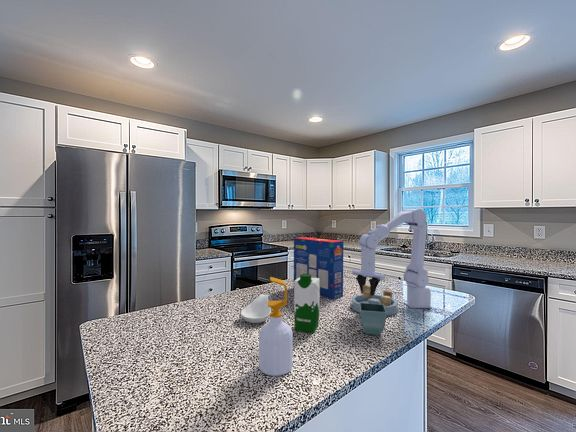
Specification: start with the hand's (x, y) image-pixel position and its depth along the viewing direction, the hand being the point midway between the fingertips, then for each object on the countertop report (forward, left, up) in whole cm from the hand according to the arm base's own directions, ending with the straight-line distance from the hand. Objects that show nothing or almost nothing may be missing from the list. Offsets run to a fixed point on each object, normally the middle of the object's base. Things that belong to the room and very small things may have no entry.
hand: (367, 293), depth 126 cm
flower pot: (+4, +22, -8) cm, 24 cm away
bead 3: (-8, 0, -6) cm, 10 cm away
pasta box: (+19, -29, -8) cm, 35 cm away
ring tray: (-4, -4, -7) cm, 9 cm away
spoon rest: (+46, +6, -8) cm, 47 cm away
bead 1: (0, 0, -1) cm, 1 cm away
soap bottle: (+37, +46, -8) cm, 60 cm away
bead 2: (-13, -13, -7) cm, 20 cm away
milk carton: (+27, +19, -8) cm, 34 cm away
